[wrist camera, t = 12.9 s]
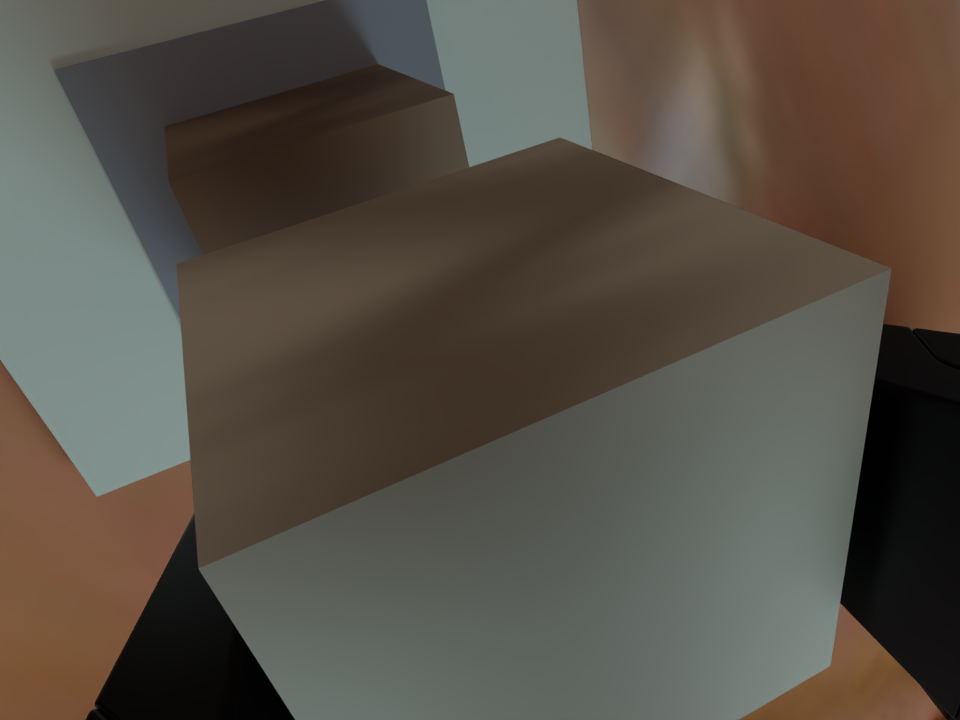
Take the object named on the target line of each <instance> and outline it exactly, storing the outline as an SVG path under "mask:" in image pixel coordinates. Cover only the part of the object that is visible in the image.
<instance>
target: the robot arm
mask: <svg viewBox="0 0 960 720" xmlns="http://www.w3.org/2000/svg"><path fill="white" fill-rule="evenodd" d="M840 603H841V604H842V605H843V606H844V607H845V608H846V609H847V610H848V611H849V612H850V614H851V615H852V616H853V617H854V618H855V619H856V620H857V621H858V622H859V623H860V624H861V625H862V626H863V627H864V628H865V629H866V630H867V631H868V632H869V633H870V634H871V635H872V636H873V637H874V638H875V639H876V640H877V641H878V642H879V643H880V644H881V645H882V646H883V647H884V648H885V649H886V650H887V651H888V653H889V654H890V655H891V656H892V657H893V658H894V659H895V660H896V661H897V662H898V663H899V664H900V665H901V666H902V667H903V668H904V669H905V670H906V671H907V672H908V673H909V674H910V675H911V676H912V677H913V678H914V679H915V680H916V681H917V682H918V683H919V684H920V686H921V687H922V688H923V689H924V691H925V692H926V693H927V695H928V696H929V697H930V699H931V700H932V701H933V702H934V704H935V705H936V706H937V708H938V709H939V710H940V712H941V713H942V714H943V715H944V717H945V718H946V719H947V720H960V334H957V333H949V332H941V331H934V330H927V329H919V328H916V329H913V330H911V329H910V328H908V327H903V326H895V325H888V324H883V328H882V334H881V341H880V347H879V354H878V360H877V367H876V373H875V380H874V386H873V392H872V399H871V405H870V412H869V418H868V425H867V431H866V438H865V444H864V451H863V457H862V464H861V470H860V477H859V483H858V489H857V496H856V502H855V509H854V515H853V522H852V528H851V535H850V541H849V548H848V554H847V561H846V567H845V573H844V580H843V586H842V593H841V599H840ZM95 707H96V708H97V709H93V710H91V711H90V712H89V714H88V716H87V718H86V720H295V719H294V717H293V716H292V714H291V712H290V711H289V709H288V708H287V706H286V705H285V703H284V702H283V700H282V698H281V697H280V695H279V694H278V692H277V691H276V689H275V688H274V686H273V684H272V683H271V681H270V680H269V678H268V677H267V675H266V673H265V672H264V670H263V669H262V667H261V666H260V664H259V663H258V661H257V659H256V658H255V656H254V655H253V653H252V652H251V650H250V648H249V647H248V645H247V644H246V642H245V641H244V639H243V638H242V636H241V634H240V633H239V631H238V630H237V628H236V627H235V625H234V624H233V622H232V620H231V619H230V617H229V616H228V614H227V613H226V611H225V609H224V608H223V606H222V605H221V603H220V602H219V600H218V599H217V597H216V595H215V594H214V592H213V591H212V589H211V588H210V586H209V584H208V583H207V581H206V580H205V578H204V577H203V575H202V574H201V572H200V570H199V569H198V556H197V543H196V529H195V515H194V514H193V516H192V518H191V520H190V522H189V524H188V526H187V528H186V530H185V532H184V534H183V535H182V537H181V539H180V541H179V543H178V545H177V547H176V549H175V551H174V553H173V554H172V556H171V558H170V560H169V562H168V564H167V566H166V568H165V570H164V572H163V574H162V575H161V577H160V579H159V581H158V583H157V585H156V587H155V589H154V591H153V593H152V595H151V596H150V598H149V600H148V602H147V604H146V606H145V608H144V610H143V612H142V614H141V616H140V617H139V619H138V621H137V623H136V625H135V627H134V629H133V631H132V633H131V635H130V637H129V638H128V640H127V642H126V644H125V646H124V648H123V650H122V652H121V654H120V656H119V658H118V659H117V661H116V663H115V665H114V667H113V669H112V671H111V673H110V675H109V677H108V679H107V680H106V682H105V684H104V686H103V688H102V690H101V692H100V694H99V696H98V698H97V700H96V701H95Z"/></svg>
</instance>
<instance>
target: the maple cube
mask: <svg viewBox="0 0 960 720" xmlns="http://www.w3.org/2000/svg"><path fill="white" fill-rule="evenodd" d="M176 268H177V281H178V295H179V309H180V323H181V336H182V350H183V364H184V378H185V391H186V405H187V419H188V433H189V446H190V460H191V474H192V488H193V501H194V515H195V529H196V543H197V556H198V569H199V570H200V572H201V574H202V575H203V577H204V578H205V580H206V581H207V583H208V584H209V586H210V588H211V589H212V591H213V592H214V594H215V595H216V597H217V599H218V600H219V602H220V603H221V605H222V606H223V608H224V609H225V611H226V613H227V614H228V616H229V617H230V619H231V620H232V622H233V624H234V625H235V627H236V628H237V630H238V631H239V633H240V634H241V636H242V638H243V639H244V641H245V642H246V644H247V645H248V647H249V648H250V650H251V652H252V653H253V655H254V656H255V658H256V659H257V661H258V663H259V664H260V666H261V667H262V669H263V670H264V672H265V673H266V675H267V677H268V678H269V680H270V681H271V683H272V684H273V686H274V688H275V689H276V691H277V692H278V694H279V695H280V697H281V698H282V700H283V702H284V703H285V705H286V706H287V708H288V709H289V711H290V712H291V714H292V716H293V717H294V719H295V720H739V719H741V718H742V717H744V716H746V715H747V714H749V713H751V712H753V711H754V710H756V709H758V708H759V707H761V706H763V705H764V704H766V703H768V702H770V701H771V700H773V699H775V698H776V697H778V696H780V695H781V694H783V693H785V692H787V691H788V690H790V689H792V688H793V687H795V686H797V685H798V684H800V683H802V682H804V681H805V680H807V679H809V678H810V677H812V676H814V675H815V674H817V673H819V672H821V671H822V670H824V669H826V668H827V667H829V666H830V664H831V658H832V651H833V645H834V638H835V632H836V625H837V619H838V612H839V606H840V599H841V593H842V586H843V580H844V573H845V567H846V561H847V554H848V548H849V541H850V535H851V528H852V522H853V515H854V509H855V502H856V496H857V489H858V483H859V477H860V470H861V464H862V457H863V451H864V444H865V438H866V431H867V425H868V418H869V412H870V405H871V399H872V392H873V386H874V380H875V373H876V367H877V360H878V354H879V347H880V341H881V334H882V328H883V321H884V315H885V308H886V302H887V295H888V289H889V283H890V276H891V270H892V268H889V267H887V266H884V265H882V264H879V263H877V262H874V261H872V260H869V259H867V258H864V257H862V256H859V255H857V254H854V253H851V252H849V251H846V250H844V249H841V248H839V247H836V246H834V245H831V244H829V243H826V242H824V241H821V240H819V239H816V238H814V237H811V236H808V235H806V234H803V233H801V232H798V231H796V230H793V229H791V228H788V227H786V226H783V225H781V224H778V223H776V222H773V221H771V220H768V219H765V218H763V217H760V216H758V215H755V214H753V213H750V212H748V211H745V210H743V209H740V208H738V207H735V206H733V205H730V204H728V203H725V202H722V201H720V200H717V199H715V198H712V197H710V196H707V195H705V194H702V193H700V192H697V191H695V190H692V189H690V188H687V187H685V186H682V185H679V184H677V183H674V182H672V181H669V180H667V179H664V178H662V177H659V176H657V175H654V174H652V173H649V172H647V171H644V170H642V169H639V168H636V167H634V166H631V165H629V164H626V163H624V162H621V161H619V160H616V159H614V158H611V157H609V156H606V155H604V154H601V153H599V152H596V151H593V150H591V149H588V148H586V147H583V146H581V145H578V144H576V143H573V142H571V141H568V140H566V139H563V138H561V137H560V138H556V139H553V140H550V141H547V142H544V143H541V144H538V145H535V146H532V147H529V148H526V149H523V150H520V151H517V152H514V153H511V154H508V155H505V156H502V157H499V158H496V159H493V160H490V161H487V162H484V163H481V164H478V165H475V166H472V167H469V168H466V169H463V170H460V171H456V172H453V173H450V174H447V175H444V176H441V177H438V178H435V179H432V180H429V181H426V182H423V183H420V184H417V185H414V186H411V187H408V188H405V189H402V190H399V191H396V192H393V193H390V194H387V195H384V196H381V197H378V198H375V199H372V200H369V201H366V202H363V203H360V204H356V205H353V206H350V207H347V208H344V209H341V210H338V211H335V212H332V213H329V214H326V215H323V216H320V217H317V218H314V219H311V220H308V221H305V222H302V223H299V224H296V225H293V226H290V227H287V228H284V229H281V230H278V231H275V232H272V233H269V234H266V235H263V236H260V237H256V238H253V239H250V240H247V241H244V242H241V243H238V244H235V245H232V246H229V247H226V248H223V249H220V250H217V251H214V252H211V253H208V254H205V255H202V256H199V257H196V258H193V259H190V260H187V261H184V262H181V263H178V264H176Z"/></svg>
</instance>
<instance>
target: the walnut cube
mask: <svg viewBox="0 0 960 720" xmlns="http://www.w3.org/2000/svg"><path fill="white" fill-rule="evenodd" d="M165 140H166V153H167V166H168V179H169V184H170V186H171V188H172V190H173V192H174V194H175V197H176V199H177V201H178V203H179V205H180V207H181V209H182V212H183V214H184V216H185V218H186V220H187V222H188V224H189V227H190V229H191V231H192V233H193V235H194V237H195V239H196V242H197V244H198V246H199V248H200V250H201V252H202V254H203V255H205V254H208V253H211V252H214V251H217V250H220V249H223V248H226V247H229V246H232V245H235V244H238V243H241V242H244V241H247V240H250V239H253V238H256V237H260V236H263V235H266V234H269V233H272V232H275V231H278V230H281V229H284V228H287V227H290V226H293V225H296V224H299V223H302V222H305V221H308V220H311V219H314V218H317V217H320V216H323V215H326V214H329V213H332V212H335V211H338V210H341V209H344V208H347V207H350V206H353V205H356V204H360V203H363V202H366V201H369V200H372V199H375V198H378V197H381V196H384V195H387V194H390V193H393V192H396V191H399V190H402V189H405V188H408V187H411V186H414V185H417V184H420V183H423V182H426V181H429V180H432V179H435V178H438V177H441V176H444V175H447V174H450V173H453V172H456V171H460V170H463V169H466V168H469V163H468V158H467V154H466V149H465V144H464V140H463V135H462V130H461V125H460V121H459V116H458V111H457V107H456V102H455V97H454V94H453V93H450V92H448V91H445V90H443V89H440V88H438V87H435V86H433V85H430V84H428V83H425V82H423V81H420V80H417V79H415V78H412V77H410V76H407V75H405V74H402V73H400V72H397V71H395V70H392V69H389V68H387V67H384V66H382V65H379V64H377V65H374V66H371V67H367V68H364V69H360V70H357V71H353V72H350V73H347V74H343V75H340V76H336V77H333V78H329V79H326V80H323V81H319V82H316V83H312V84H309V85H305V86H302V87H299V88H295V89H292V90H288V91H285V92H281V93H278V94H275V95H271V96H268V97H264V98H261V99H257V100H254V101H251V102H247V103H244V104H240V105H237V106H233V107H230V108H227V109H223V110H220V111H216V112H213V113H209V114H206V115H203V116H199V117H196V118H192V119H189V120H185V121H182V122H179V123H175V124H172V125H168V126H165Z"/></svg>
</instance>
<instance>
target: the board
mask: <svg viewBox="0 0 960 720" xmlns="http://www.w3.org/2000/svg"><path fill="white" fill-rule="evenodd" d="M377 64H379V65H382V66H384V67H387V68H389V69H392V70H395V71H397V72H400V73H402V74H405V75H407V76H410V77H412V78H415V79H417V80H420V81H423V82H425V83H428V84H430V85H433V86H435V87H438V88H440V89H443V90H445V91H448V92H450V93H453V94H454V97H455V102H456V107H457V111H458V116H459V121H460V125H461V130H462V135H463V140H464V144H465V149H466V154H467V158H468V163H469V167H472V166H475V165H478V164H481V163H484V162H487V161H490V160H493V159H496V158H499V157H502V156H505V155H508V154H511V153H514V152H517V151H520V150H523V149H526V148H529V147H532V146H535V145H538V144H541V143H544V142H547V141H550V140H553V139H556V138H560V137H561V138H563V139H566V140H568V141H571V142H573V143H576V144H578V145H581V146H583V147H586V148H588V149H591V150H592V143H591V133H590V123H589V114H588V104H587V94H586V84H585V74H584V65H583V55H582V45H581V35H580V26H579V16H578V6H577V0H0V360H1V361H2V363H3V364H4V366H5V367H6V369H7V370H8V371H9V373H10V374H11V376H12V377H13V378H14V380H15V381H16V383H17V384H18V386H19V387H20V388H21V390H22V391H23V393H24V394H25V396H26V397H27V398H28V400H29V401H30V403H31V404H32V405H33V407H34V408H35V410H36V411H37V413H38V414H39V415H40V417H41V418H42V420H43V421H44V422H45V424H46V425H47V427H48V428H49V430H50V431H51V432H52V434H53V435H54V437H55V438H56V439H57V441H58V442H59V444H60V445H61V447H62V448H63V449H64V451H65V452H66V454H67V455H68V456H69V458H70V459H71V461H72V462H73V464H74V465H75V466H76V468H77V469H78V471H79V472H80V474H81V475H82V476H83V478H84V479H85V481H86V482H87V483H88V485H89V486H90V488H91V489H92V491H93V492H94V493H95V495H96V496H100V495H102V494H105V493H107V492H110V491H112V490H115V489H117V488H120V487H122V486H125V485H127V484H130V483H133V482H135V481H138V480H140V479H143V478H145V477H148V476H150V475H153V474H155V473H158V472H160V471H163V470H165V469H168V468H170V467H173V466H175V465H178V464H180V463H183V462H185V461H188V460H190V446H189V433H188V419H187V405H186V391H185V378H184V364H183V350H182V336H181V323H180V309H179V295H178V281H177V268H176V264H178V263H181V262H184V261H187V260H190V259H193V258H196V257H199V256H202V255H203V254H202V252H201V250H200V248H199V246H198V244H197V242H196V239H195V237H194V235H193V233H192V231H191V229H190V227H189V224H188V222H187V220H186V218H185V216H184V214H183V212H182V209H181V207H180V205H179V203H178V201H177V199H176V197H175V194H174V192H173V190H172V188H171V186H170V184H169V179H168V166H167V153H166V140H165V126H168V125H172V124H175V123H179V122H182V121H185V120H189V119H192V118H196V117H199V116H203V115H206V114H209V113H213V112H216V111H220V110H223V109H227V108H230V107H233V106H237V105H240V104H244V103H247V102H251V101H254V100H257V99H261V98H264V97H268V96H271V95H275V94H278V93H281V92H285V91H288V90H292V89H295V88H299V87H302V86H305V85H309V84H312V83H316V82H319V81H323V80H326V79H329V78H333V77H336V76H340V75H343V74H347V73H350V72H353V71H357V70H360V69H364V68H367V67H371V66H374V65H377Z"/></svg>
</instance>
